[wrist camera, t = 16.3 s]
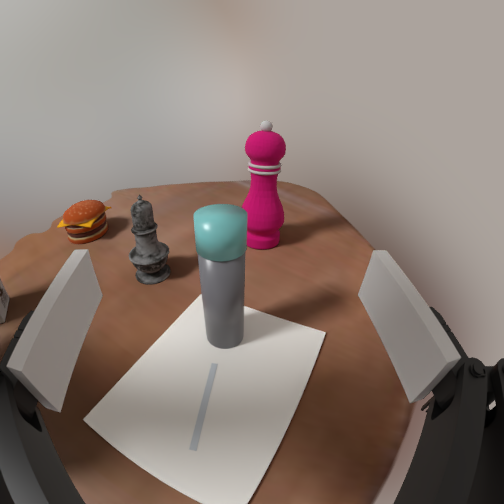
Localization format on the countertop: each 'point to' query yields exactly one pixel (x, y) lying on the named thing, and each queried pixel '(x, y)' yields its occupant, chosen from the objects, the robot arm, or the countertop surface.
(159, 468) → the paper
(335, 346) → the countertop surface
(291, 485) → the countertop surface
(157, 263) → the chess piece
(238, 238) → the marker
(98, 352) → the countertop surface
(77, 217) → the hamburger
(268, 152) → the pepper mill
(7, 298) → the coffee box
